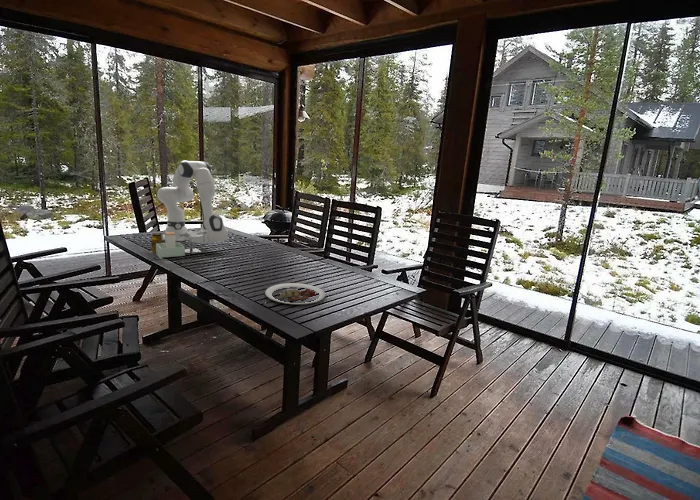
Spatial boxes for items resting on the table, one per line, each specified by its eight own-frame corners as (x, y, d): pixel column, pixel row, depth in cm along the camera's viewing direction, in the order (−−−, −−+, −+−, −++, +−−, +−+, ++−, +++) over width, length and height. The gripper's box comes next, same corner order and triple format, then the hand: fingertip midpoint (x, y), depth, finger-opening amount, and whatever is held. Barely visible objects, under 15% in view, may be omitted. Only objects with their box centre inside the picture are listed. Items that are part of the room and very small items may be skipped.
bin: (156, 254, 247) (155, 243, 246) (179, 252, 256) (179, 242, 254) (160, 259, 236) (160, 248, 235) (184, 257, 245) (184, 247, 243)
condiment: (148, 252, 251) (148, 233, 248) (159, 249, 259) (158, 232, 256) (157, 253, 249) (157, 235, 246) (167, 251, 256) (167, 233, 254)
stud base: (181, 251, 259) (181, 240, 257) (197, 250, 265) (197, 239, 263) (185, 255, 251) (185, 243, 250) (201, 253, 257) (201, 242, 255)
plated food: (253, 292, 196) (253, 286, 195) (301, 283, 217) (301, 277, 216) (288, 312, 175) (288, 305, 174) (337, 299, 196) (337, 293, 195)
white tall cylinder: (165, 253, 246) (164, 232, 243) (173, 253, 249) (173, 231, 246) (167, 255, 242) (166, 233, 239) (175, 255, 245) (175, 233, 242)
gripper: (198, 228, 263) (176, 229, 254) (207, 234, 247) (184, 235, 238) (198, 237, 264) (177, 238, 256) (207, 244, 248) (184, 245, 240)
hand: (180, 237), depth 247 cm, fingers open, 8 cm apart
